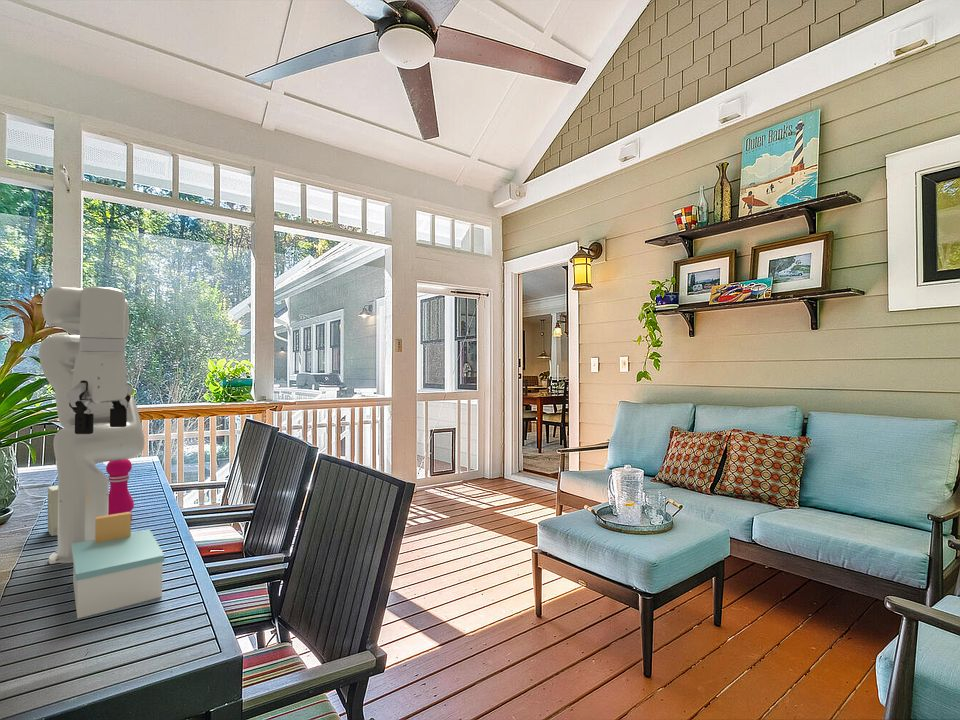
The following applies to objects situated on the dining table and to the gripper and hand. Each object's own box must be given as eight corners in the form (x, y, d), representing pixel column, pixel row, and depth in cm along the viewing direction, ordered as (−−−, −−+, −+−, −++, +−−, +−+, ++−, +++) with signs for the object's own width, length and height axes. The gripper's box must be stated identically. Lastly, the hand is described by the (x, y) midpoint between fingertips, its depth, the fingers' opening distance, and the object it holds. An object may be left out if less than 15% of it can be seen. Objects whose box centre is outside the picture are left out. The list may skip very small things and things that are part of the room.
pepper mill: (129, 516, 149) (129, 449, 149) (137, 521, 144) (138, 452, 144) (99, 522, 143) (100, 452, 143) (107, 528, 139) (107, 456, 138)
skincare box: (72, 532, 135) (72, 487, 134) (51, 537, 131) (51, 490, 131) (67, 527, 139) (67, 483, 139) (46, 531, 136) (47, 486, 136)
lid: (71, 556, 104) (71, 519, 104) (149, 541, 113) (149, 507, 112) (75, 589, 90) (76, 546, 90) (164, 568, 99) (164, 530, 98)
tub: (73, 587, 104) (73, 549, 104) (147, 570, 112) (148, 535, 112) (77, 624, 90) (77, 579, 90) (161, 601, 99) (162, 561, 99)
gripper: (113, 348, 112) (112, 424, 112) (49, 346, 94) (48, 436, 95) (147, 348, 112) (146, 424, 112) (90, 347, 95) (89, 437, 95)
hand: (101, 430), depth 103 cm, fingers open, 9 cm apart
